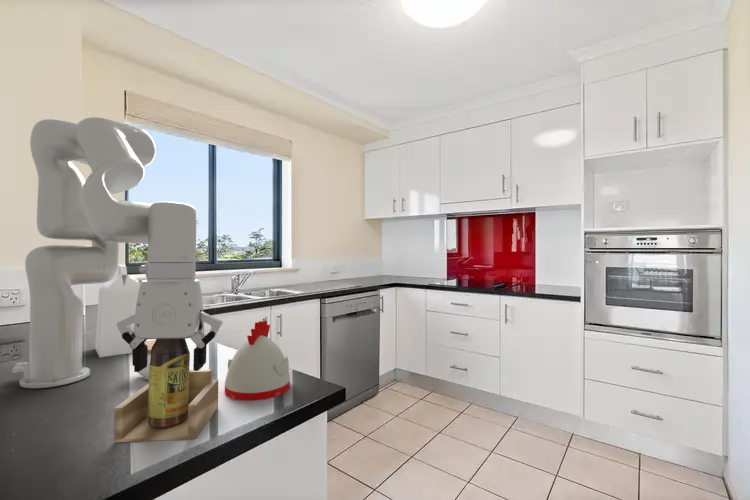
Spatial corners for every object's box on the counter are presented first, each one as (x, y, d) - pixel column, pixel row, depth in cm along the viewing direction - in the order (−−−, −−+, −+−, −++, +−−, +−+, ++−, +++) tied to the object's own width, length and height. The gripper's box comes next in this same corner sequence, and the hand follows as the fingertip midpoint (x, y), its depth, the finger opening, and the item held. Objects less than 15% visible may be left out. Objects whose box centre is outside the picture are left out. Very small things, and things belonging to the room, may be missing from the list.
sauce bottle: (170, 432, 62) (172, 312, 62) (138, 428, 63) (139, 311, 63) (196, 415, 68) (198, 306, 68) (167, 411, 69) (168, 305, 69)
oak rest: (113, 442, 59) (114, 395, 59) (150, 410, 71) (151, 371, 71) (195, 438, 61) (196, 392, 61) (217, 407, 73) (218, 369, 73)
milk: (95, 349, 115) (96, 265, 115) (138, 343, 122) (139, 264, 123) (99, 357, 106) (101, 266, 106) (146, 350, 114) (147, 265, 114)
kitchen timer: (299, 381, 88) (300, 318, 88) (270, 404, 75) (271, 329, 75) (247, 376, 91) (248, 315, 92) (210, 397, 78) (211, 325, 78)
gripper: (106, 273, 61) (104, 377, 61) (216, 274, 63) (214, 375, 63) (130, 270, 68) (128, 363, 68) (228, 271, 70) (226, 361, 70)
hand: (169, 369), depth 66 cm, fingers open, 9 cm apart
